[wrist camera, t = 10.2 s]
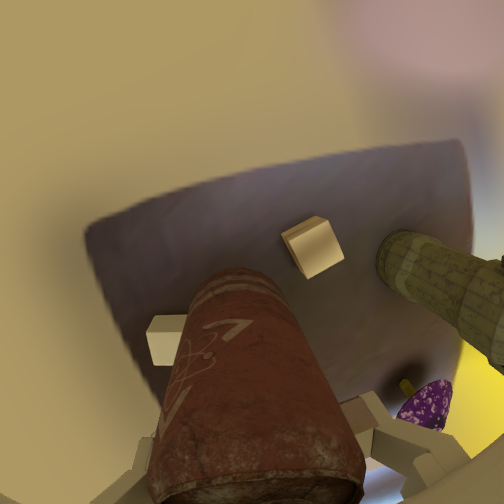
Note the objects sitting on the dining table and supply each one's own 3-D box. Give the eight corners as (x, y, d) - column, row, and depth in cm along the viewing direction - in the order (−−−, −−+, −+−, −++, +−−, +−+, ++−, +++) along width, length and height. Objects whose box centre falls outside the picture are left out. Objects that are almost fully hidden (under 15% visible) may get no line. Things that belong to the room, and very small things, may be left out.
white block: (194, 345, 38) (191, 365, 33) (161, 345, 38) (154, 365, 33) (189, 314, 37) (185, 331, 32) (154, 315, 36) (145, 332, 32)
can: (197, 355, 19) (175, 547, 5) (186, 268, 17) (102, 465, 4) (283, 349, 19) (348, 532, 5) (284, 262, 18) (411, 439, 4)
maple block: (330, 249, 36) (344, 258, 32) (297, 267, 37) (307, 279, 32) (314, 215, 35) (327, 219, 30) (280, 233, 35) (288, 241, 31)
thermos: (382, 304, 39) (550, 460, 5) (367, 232, 36) (616, 353, 2) (425, 281, 39) (595, 392, 5) (414, 211, 36) (636, 280, 2)
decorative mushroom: (422, 341, 42) (472, 386, 27) (430, 380, 45) (468, 422, 30) (366, 380, 42) (405, 437, 28) (380, 414, 45) (412, 464, 31)
